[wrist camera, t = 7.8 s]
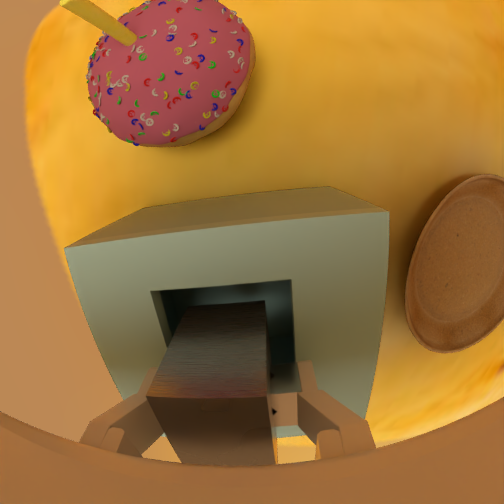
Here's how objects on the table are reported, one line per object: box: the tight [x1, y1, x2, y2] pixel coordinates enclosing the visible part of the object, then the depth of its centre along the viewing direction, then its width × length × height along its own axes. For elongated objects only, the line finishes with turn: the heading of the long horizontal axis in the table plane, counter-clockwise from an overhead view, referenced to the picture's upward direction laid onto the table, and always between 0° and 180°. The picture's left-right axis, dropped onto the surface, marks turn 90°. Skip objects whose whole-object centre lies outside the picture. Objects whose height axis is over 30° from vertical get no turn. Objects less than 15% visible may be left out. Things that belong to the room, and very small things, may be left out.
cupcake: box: [60, 0, 255, 147], centre depth 10 cm, size 9×8×12 cm
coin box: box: [64, 186, 389, 438], centre depth 15 cm, size 12×11×9 cm
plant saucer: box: [405, 174, 504, 353], centre depth 17 cm, size 15×15×3 cm
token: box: [146, 300, 278, 466], centre depth 9 cm, size 3×5×5 cm, turn 7°
